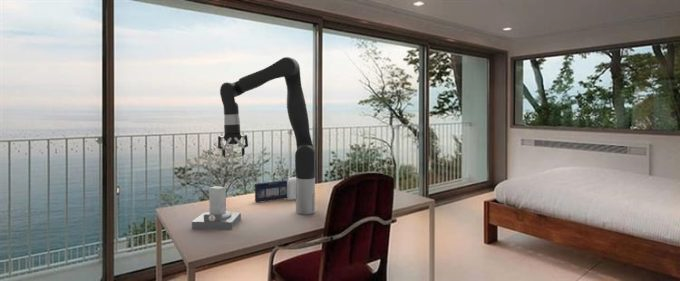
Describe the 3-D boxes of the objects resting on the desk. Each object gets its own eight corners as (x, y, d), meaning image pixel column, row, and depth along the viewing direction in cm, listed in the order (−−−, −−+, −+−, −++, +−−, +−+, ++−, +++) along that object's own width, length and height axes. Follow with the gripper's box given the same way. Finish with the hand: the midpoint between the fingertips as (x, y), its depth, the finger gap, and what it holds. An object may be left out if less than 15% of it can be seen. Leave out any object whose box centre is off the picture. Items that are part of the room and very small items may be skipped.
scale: (240, 219, 175) (240, 206, 175) (231, 229, 161) (231, 215, 161) (204, 218, 175) (203, 205, 175) (192, 228, 162) (191, 214, 161)
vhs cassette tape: (256, 202, 204) (256, 184, 203) (254, 201, 207) (254, 183, 206) (288, 198, 213) (288, 181, 212) (286, 197, 216) (286, 180, 215)
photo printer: (302, 196, 217) (302, 175, 216) (305, 198, 214) (305, 176, 213) (285, 199, 212) (285, 177, 211) (289, 200, 208) (289, 178, 207)
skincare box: (226, 213, 171) (226, 186, 169) (220, 215, 167) (219, 188, 165) (215, 211, 173) (214, 185, 171) (209, 214, 169) (208, 187, 167)
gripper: (216, 124, 182) (218, 158, 183) (247, 123, 186) (249, 156, 187) (216, 124, 189) (218, 156, 190) (246, 122, 193) (247, 154, 195)
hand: (233, 156), depth 189 cm, fingers open, 8 cm apart
